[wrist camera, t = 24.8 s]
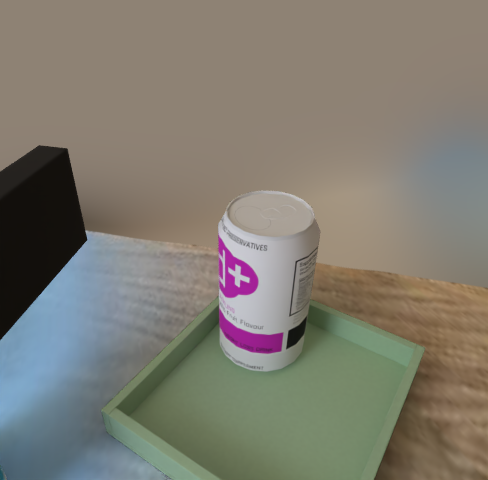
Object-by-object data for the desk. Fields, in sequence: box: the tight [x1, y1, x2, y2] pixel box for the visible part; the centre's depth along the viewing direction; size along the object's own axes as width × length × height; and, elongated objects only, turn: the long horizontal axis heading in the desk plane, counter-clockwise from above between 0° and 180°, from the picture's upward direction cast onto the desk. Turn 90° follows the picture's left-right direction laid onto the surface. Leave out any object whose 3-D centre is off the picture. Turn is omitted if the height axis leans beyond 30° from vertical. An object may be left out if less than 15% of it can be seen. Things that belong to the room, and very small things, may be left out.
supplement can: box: [218, 190, 320, 372], centre depth 39 cm, size 8×8×15 cm
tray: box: [101, 296, 425, 480], centre depth 38 cm, size 20×21×3 cm
